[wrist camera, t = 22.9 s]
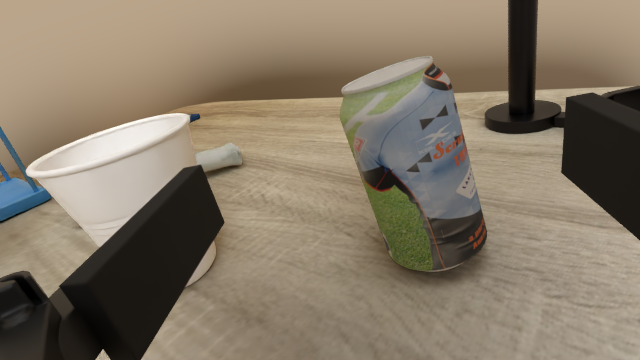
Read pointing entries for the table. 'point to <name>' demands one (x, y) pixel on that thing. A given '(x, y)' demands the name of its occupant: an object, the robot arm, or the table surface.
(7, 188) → the file sorter
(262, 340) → the table surface
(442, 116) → the beverage can
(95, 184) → the cup
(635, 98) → the can holder
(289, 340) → the table surface
